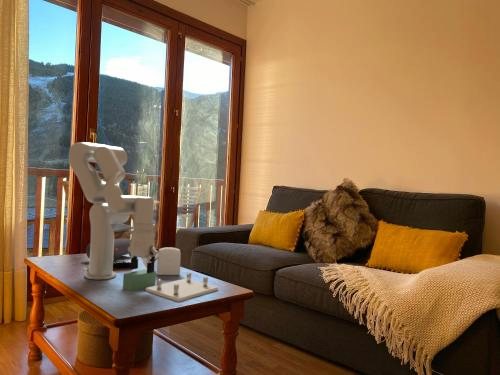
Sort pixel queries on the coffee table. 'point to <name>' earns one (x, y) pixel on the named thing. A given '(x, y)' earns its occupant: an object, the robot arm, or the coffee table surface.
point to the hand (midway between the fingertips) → (142, 270)
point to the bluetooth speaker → (116, 248)
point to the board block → (138, 280)
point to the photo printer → (169, 261)
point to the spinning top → (145, 261)
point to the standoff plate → (181, 288)
